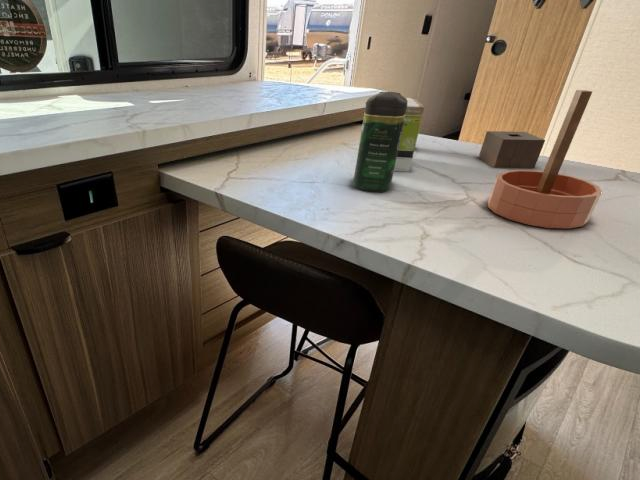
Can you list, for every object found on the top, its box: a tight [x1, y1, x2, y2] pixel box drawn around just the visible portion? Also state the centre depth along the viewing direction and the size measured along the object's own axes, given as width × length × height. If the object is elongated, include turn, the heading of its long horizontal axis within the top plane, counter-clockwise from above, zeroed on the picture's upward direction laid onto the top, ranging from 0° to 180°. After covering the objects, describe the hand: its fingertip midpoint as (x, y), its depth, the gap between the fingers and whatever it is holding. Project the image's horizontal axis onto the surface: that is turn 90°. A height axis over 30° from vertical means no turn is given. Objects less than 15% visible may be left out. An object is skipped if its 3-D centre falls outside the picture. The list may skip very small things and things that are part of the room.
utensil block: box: [478, 130, 546, 170], centre depth 103 cm, size 10×10×7 cm
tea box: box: [394, 97, 425, 172], centre depth 101 cm, size 15×10×15 cm
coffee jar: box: [352, 91, 408, 193], centre depth 85 cm, size 10×8×19 cm
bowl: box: [487, 169, 603, 230], centre depth 75 cm, size 16×16×6 cm
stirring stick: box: [536, 89, 593, 194], centre depth 71 cm, size 2×2×20 cm
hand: (564, 5), depth 80 cm, fingers open, 8 cm apart
